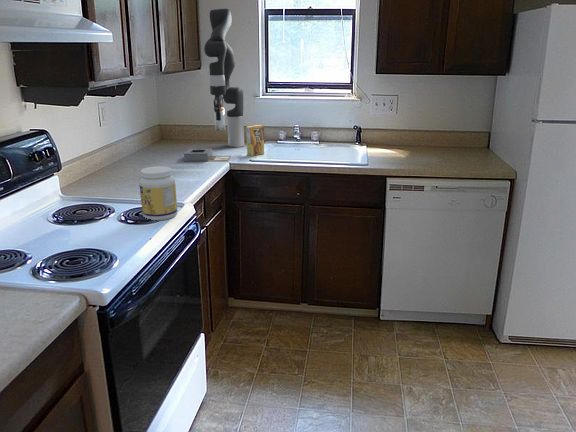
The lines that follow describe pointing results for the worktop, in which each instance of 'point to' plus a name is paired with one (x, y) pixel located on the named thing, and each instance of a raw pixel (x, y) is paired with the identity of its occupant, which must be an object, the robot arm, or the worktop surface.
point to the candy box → (255, 140)
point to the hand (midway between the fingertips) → (219, 119)
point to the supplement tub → (158, 193)
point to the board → (215, 159)
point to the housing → (198, 155)
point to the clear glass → (220, 121)
